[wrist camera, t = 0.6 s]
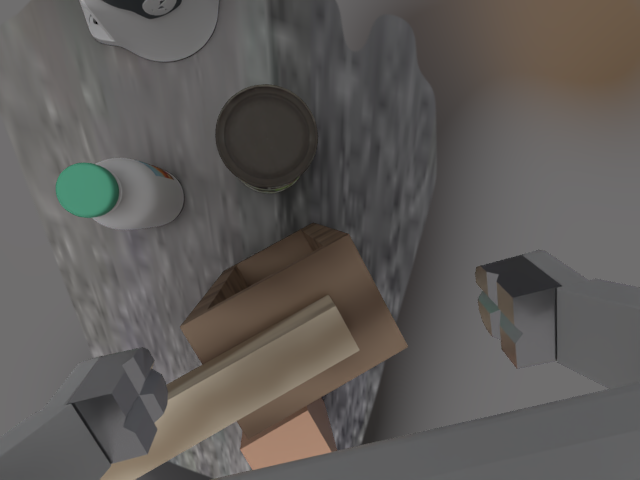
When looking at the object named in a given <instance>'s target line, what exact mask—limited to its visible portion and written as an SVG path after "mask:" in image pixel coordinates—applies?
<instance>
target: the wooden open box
mask: <svg viewBox="0 0 640 480" xmlns="http://www.w3.org/2000/svg"><path fill="white" fill-rule="evenodd" d="M326 295H329V296H330V298H331V299H332V301H333V302H334V304H335V306H336V307H337V309H338V311H339V313H340V315H341V316H342V318H343V320H344V322H345V324H346V326H347V328H348V329H349V331H350V333H351V335H352V337H353V339H354V340H355V342H356V344H357V346H358V348H359V351H358V352H356V353H354V354H352V355H351V356H349V357H347V358H346V359H344V360H342V361H340V362H339V363H337V364H335V365H333V366H332V367H330V368H328V369H326V370H325V371H323V372H321V373H319V374H318V375H316V376H314V377H312V378H311V379H309V380H307V381H305V382H304V383H302V384H300V385H299V386H297V387H295V388H293V389H292V390H290V391H288V392H286V393H285V394H283V395H281V396H279V397H278V398H276V399H274V400H272V401H271V402H269V403H267V404H265V405H264V406H262V407H260V408H258V409H257V410H255V411H253V412H252V413H250V414H248V415H246V416H245V417H243V418H241V419H239V420H238V421H237V422H238V424H239V426H240V427H241V429H242V430H243V432H244V434H245V435H246V437H247V439H250V438H252V437H253V436H255V435H257V434H259V433H260V432H262V431H264V430H265V429H267V428H269V427H271V426H272V425H274V424H276V423H278V422H279V421H281V420H283V419H284V418H286V417H288V416H290V415H291V414H293V413H295V412H297V411H298V410H300V409H302V408H303V407H305V406H307V405H309V404H310V403H312V402H314V401H316V400H317V399H319V398H321V397H322V396H324V395H326V394H328V393H329V392H331V391H333V390H335V389H336V388H338V387H340V386H341V385H343V384H345V383H347V382H348V381H350V380H352V379H354V378H355V377H357V376H359V375H360V374H362V373H364V372H366V371H367V370H369V369H371V368H372V367H374V366H376V365H378V364H379V363H381V362H383V361H385V360H386V359H388V358H390V357H391V356H393V355H395V354H397V353H398V352H400V351H402V350H403V349H405V348H407V347H408V346H407V344H406V342H405V340H404V338H403V336H402V334H401V332H400V331H399V329H398V327H397V325H396V323H395V321H394V319H393V317H392V315H391V313H390V311H389V310H388V308H387V306H386V304H385V302H384V300H383V298H382V296H381V294H380V292H379V291H378V289H377V287H376V285H375V283H374V281H373V279H372V277H371V275H370V273H369V271H368V270H367V268H366V266H365V264H364V262H363V260H362V258H361V256H360V254H359V252H358V250H357V249H356V247H355V245H354V243H353V241H352V239H351V237H350V235H349V234H347V233H344V232H341V231H338V230H335V229H331V228H328V227H325V226H322V225H319V224H316V223H311V224H310V225H308V226H306V227H304V228H302V229H300V230H299V231H297V232H295V233H293V234H291V235H289V236H288V237H286V238H284V239H282V240H280V241H278V242H277V243H275V244H273V245H271V246H269V247H267V248H265V249H264V250H262V251H260V252H258V253H256V254H254V255H253V256H251V257H249V258H247V259H245V260H243V261H242V262H240V263H238V264H236V265H234V266H232V267H230V268H229V269H227V270H225V271H224V272H223V273H222V274H221V275H220V277H219V278H218V279H217V281H216V282H215V283H214V284H213V286H212V287H211V288H210V289H209V291H208V292H207V293H206V294H205V296H204V297H203V298H202V299H201V301H200V302H199V303H198V305H197V306H196V307H195V308H194V310H193V311H192V312H191V313H190V315H189V316H188V317H187V318H186V320H185V321H184V322H183V324H182V325H181V326H180V328H181V330H182V332H183V333H184V335H185V336H186V338H187V340H188V341H189V343H190V345H191V346H192V348H193V350H194V351H195V353H196V355H197V356H198V358H199V360H200V361H201V363H202V365H203V364H205V363H206V362H208V361H210V360H212V359H214V358H215V357H217V356H219V355H221V354H223V353H224V352H226V351H228V350H230V349H232V348H233V347H235V346H237V345H239V344H240V343H242V342H244V341H246V340H248V339H249V338H251V337H253V336H255V335H257V334H258V333H260V332H262V331H264V330H265V329H267V328H269V327H271V326H273V325H274V324H276V323H278V322H280V321H282V320H283V319H285V318H287V317H289V316H291V315H292V314H294V313H296V312H298V311H299V310H301V309H303V308H305V307H307V306H308V305H310V304H312V303H314V302H316V301H317V300H319V299H321V298H323V297H324V296H326Z"/></svg>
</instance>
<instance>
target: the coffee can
mask: <svg viewBox="0 0 640 480" xmlns="http://www.w3.org/2000/svg"><path fill="white" fill-rule="evenodd" d="M216 144H217V148H218V152H219V155H220V157H221V159H222V160H223V162H224V164H225V165H226V167H227V168H228V169H229V170H230V171H231V172H232V173H233V174H234V175H235V176H236V177H238V178H239V179H240V180H241V181H242V182H243V183H244V184H245V185H246V186H248V187H249V188H251V189H253V190H255V191H258V192H262V193H276V192H280V191H283V190H285V189H287V188H289V187H290V186H292V185H293V184H294V183H295V182H296V181H297V180H298V179H299V177H300V176H301V175H302V174H303V173H304V172H305V171H306V170H307V168H308V167H309V165H310V164H311V162H312V160H313V158H314V156H315V153H316V149H317V144H318V132H317V126H316V122H315V119H314V117H313V115H312V113H311V111H310V109H309V108H308V106H307V105H306V104H305V103H304V101H303V100H302V99H300V98H299V97H298V96H297V95H296V94H294V93H293V92H291V91H289V90H287V89H285V88H282V87H279V86H275V85H268V84H263V85H254V86H250V87H248V88H245V89H243V90H241V91H239V92H238V93H236V94H235V95H234V96H232V97H231V98H230V99H229V100H228V101H227V103H226V104H225V105H224V107H223V108H222V110H221V112H220V114H219V117H218V120H217V124H216Z"/></svg>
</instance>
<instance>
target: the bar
mask: <svg viewBox="0 0 640 480" xmlns="http://www.w3.org/2000/svg"><path fill="white" fill-rule="evenodd" d="M358 351H359V348H358V346H357V344H356V342H355V340H354V339H353V337H352V335H351V333H350V331H349V329H348V328H347V326H346V324H345V322H344V320H343V318H342V316H341V315H340V313H339V311H338V309H337V307H336V306H335V304H334V302H333V301H332V299H331V298H330V296H329V295H326V296H324V297H323V298H321V299H319V300H317V301H316V302H314V303H312V304H310V305H308V306H307V307H305V308H303V309H301V310H299V311H298V312H296V313H294V314H292V315H291V316H289V317H287V318H285V319H283V320H282V321H280V322H278V323H276V324H274V325H273V326H271V327H269V328H267V329H265V330H264V331H262V332H260V333H258V334H257V335H255V336H253V337H251V338H249V339H248V340H246V341H244V342H242V343H240V344H239V345H237V346H235V347H233V348H232V349H230V350H228V351H226V352H224V353H223V354H221V355H219V356H217V357H215V358H214V359H212V360H210V361H208V362H206V363H205V364H203V365H201V366H199V367H198V368H196V369H194V370H192V371H190V372H189V373H187V374H185V375H183V376H181V377H180V378H178V379H176V380H174V381H173V382H171V383H169V384H167V385H166V386H167V390H168V403H167V407H166V409H165V412H164V414H163V415H162V416H161V417H160V418H159V419H158V420H157V421H156V422H155V425H156V427H157V429H158V430H157V432H156V435H155V437H154V440H153V442H152V445H151V447H150V450H149V452H148V454H147V455H144V456H140V457H136V458H132V459H128V460H124V461H121V462H117V463H113V464H111V467H110V468H109V469H108V470H107V471H106V473H105V474H104V475H103V476H102V477H101V478H100V480H135V479H136V478H138V477H140V476H142V475H143V474H145V473H147V472H149V471H150V470H152V469H154V468H156V467H157V466H159V465H161V464H163V463H164V462H166V461H168V460H170V459H171V458H173V457H175V456H177V455H178V454H180V453H182V452H184V451H185V450H187V449H189V448H191V447H192V446H194V445H196V444H198V443H199V442H201V441H203V440H205V439H206V438H208V437H210V436H211V435H213V434H215V433H217V432H218V431H220V430H222V429H224V428H225V427H227V426H229V425H231V424H232V423H234V422H236V421H238V420H239V419H241V418H243V417H245V416H246V415H248V414H250V413H252V412H253V411H255V410H257V409H258V408H260V407H262V406H264V405H265V404H267V403H269V402H271V401H272V400H274V399H276V398H278V397H279V396H281V395H283V394H285V393H286V392H288V391H290V390H292V389H293V388H295V387H297V386H299V385H300V384H302V383H304V382H305V381H307V380H309V379H311V378H312V377H314V376H316V375H318V374H319V373H321V372H323V371H325V370H326V369H328V368H330V367H332V366H333V365H335V364H337V363H339V362H340V361H342V360H344V359H346V358H347V357H349V356H351V355H352V354H354V353H356V352H358Z"/></svg>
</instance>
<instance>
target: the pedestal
mask: <svg viewBox="0 0 640 480" xmlns="http://www.w3.org/2000/svg"><path fill="white" fill-rule="evenodd" d="M240 450H241V452H242V453H243V455H244V456H245V458H246V460H247V461H248V463H249V465H250V466H251V468H252V470H255V469H260V468H264V467H269V466H273V465H277V464H282V463H286V462H291V461H295V460H299V459H304V458H308V457H313V456H317V455H321V454H326V453H330V452H334V451H337V448H336V444H335V441H334V437H333V433H332V429H331V426H330V422H329V418H328V415H327V411H326V407H325V403H324V402H323V400H322V398H319V399H317V400H316V401H314V402H312V403H310V404H309V405H307V406H305V407H303V408H302V409H300V410H298V411H297V412H295V413H293V414H291V415H290V416H288V417H286V418H284V419H283V420H281V421H279V422H278V423H276V424H274V425H272V426H271V427H269V428H267V429H265V430H264V431H262V432H260V433H259V434H257V435H255V436H253V437H252V438H250V439H247V437H246V435H245V434H244V432H243V433H242V440H241V448H240Z"/></svg>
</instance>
